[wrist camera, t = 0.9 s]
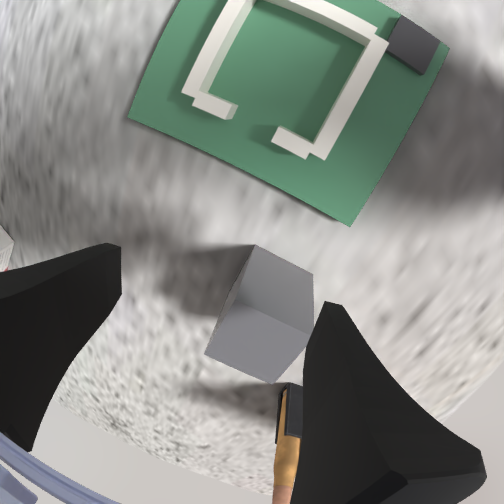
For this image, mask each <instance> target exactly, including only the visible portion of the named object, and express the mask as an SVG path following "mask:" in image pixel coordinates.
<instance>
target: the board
mask: <svg viewBox="0 0 504 504" xmlns="http://www.w3.org/2000/svg"><path fill="white" fill-rule="evenodd" d="M449 49H450V48H449V47H447V46H446V45H445V44H443V43H442V42H441V41H439V40H438V39H437V38H435V37H434V36H432V35H431V34H430V33H428V32H427V31H425V30H424V29H423V28H421V27H420V26H418V25H417V24H415V23H414V22H412V21H411V20H409V19H407V18H406V17H404V16H403V15H401V14H399V13H398V12H396V11H394V10H393V9H391V8H389V7H388V6H386V5H384V4H382V3H381V2H379V1H377V0H180V2H179V4H178V5H177V7H176V9H175V11H174V13H173V15H172V16H171V18H170V20H169V22H168V24H167V26H166V28H165V30H164V32H163V34H162V36H161V38H160V40H159V42H158V44H157V47H156V49H155V51H154V53H153V55H152V57H151V60H150V62H149V64H148V66H147V69H146V71H145V73H144V76H143V78H142V81H141V83H140V85H139V88H138V90H137V93H136V95H135V98H134V101H133V103H132V106H131V109H130V111H129V114H128V118H130V119H133V120H135V121H137V122H140V123H142V124H145V125H147V126H149V127H152V128H154V129H156V130H158V131H161V132H163V133H165V134H168V135H170V136H172V137H174V138H177V139H179V140H181V141H183V142H185V143H188V144H190V145H192V146H194V147H196V148H198V149H201V150H203V151H205V152H207V153H209V154H211V155H213V156H215V157H218V158H220V159H222V160H224V161H226V162H228V163H230V164H232V165H234V166H236V167H238V168H240V169H242V170H244V171H246V172H248V173H250V174H252V175H254V176H256V177H258V178H260V179H262V180H264V181H266V182H268V183H270V184H272V185H274V186H276V187H278V188H279V189H281V190H283V191H285V192H287V193H289V194H291V195H293V196H295V197H296V198H298V199H300V200H302V201H304V202H306V203H307V204H309V205H311V206H313V207H315V208H317V209H318V210H320V211H322V212H324V213H326V214H327V215H329V216H331V217H333V218H335V219H336V220H338V221H340V222H342V223H343V224H345V225H347V226H349V227H350V226H351V225H352V223H353V222H354V220H355V219H356V217H357V215H358V214H359V212H360V211H361V209H362V207H363V206H364V204H365V203H366V201H367V199H368V198H369V196H370V194H371V193H372V191H373V190H374V188H375V186H376V185H377V183H378V181H379V180H380V178H381V176H382V175H383V173H384V171H385V169H386V168H387V166H388V164H389V163H390V161H391V159H392V158H393V156H394V154H395V152H396V151H397V149H398V147H399V145H400V144H401V142H402V140H403V138H404V136H405V135H406V133H407V131H408V129H409V127H410V126H411V124H412V122H413V120H414V118H415V116H416V115H417V113H418V111H419V109H420V107H421V105H422V103H423V101H424V99H425V98H426V96H427V94H428V92H429V90H430V88H431V86H432V84H433V82H434V80H435V78H436V76H437V74H438V72H439V70H440V68H441V66H442V64H443V62H444V60H445V58H446V56H447V53H448V51H449Z"/></svg>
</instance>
